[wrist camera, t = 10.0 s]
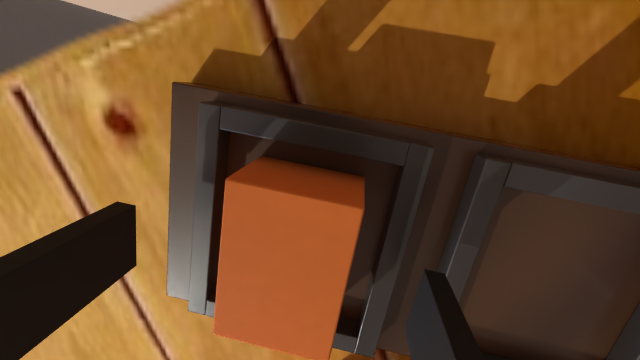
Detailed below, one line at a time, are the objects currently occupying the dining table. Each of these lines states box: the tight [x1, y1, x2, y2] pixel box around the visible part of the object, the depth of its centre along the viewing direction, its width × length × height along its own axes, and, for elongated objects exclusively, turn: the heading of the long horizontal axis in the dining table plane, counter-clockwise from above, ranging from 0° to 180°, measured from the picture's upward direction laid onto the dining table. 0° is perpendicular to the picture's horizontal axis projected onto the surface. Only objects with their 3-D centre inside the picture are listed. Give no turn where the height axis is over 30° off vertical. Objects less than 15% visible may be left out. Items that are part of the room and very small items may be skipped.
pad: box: [213, 156, 365, 360], centre depth 14 cm, size 5×7×4 cm
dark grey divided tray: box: [167, 82, 640, 360], centre depth 15 cm, size 26×12×3 cm, turn 81°
